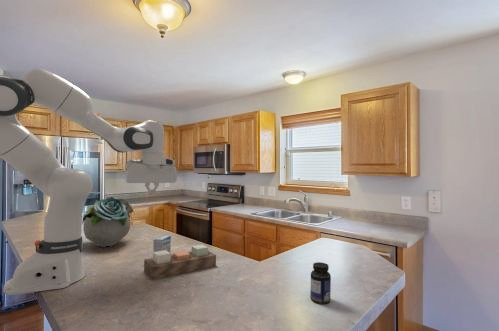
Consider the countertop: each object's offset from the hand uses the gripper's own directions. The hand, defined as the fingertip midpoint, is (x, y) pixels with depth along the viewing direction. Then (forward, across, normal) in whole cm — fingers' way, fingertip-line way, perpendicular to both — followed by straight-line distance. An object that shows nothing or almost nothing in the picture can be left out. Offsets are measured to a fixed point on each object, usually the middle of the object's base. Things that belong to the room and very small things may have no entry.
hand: (151, 193), depth 115 cm
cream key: (+26, +1, -11) cm, 28 cm away
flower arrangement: (+29, -9, +40) cm, 50 cm away
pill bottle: (+29, +34, -60) cm, 75 cm away
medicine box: (+29, +8, +8) cm, 31 cm away
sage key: (+26, +17, -11) cm, 33 cm away
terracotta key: (+28, +9, -11) cm, 31 cm away
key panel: (+29, +9, -11) cm, 32 cm away
